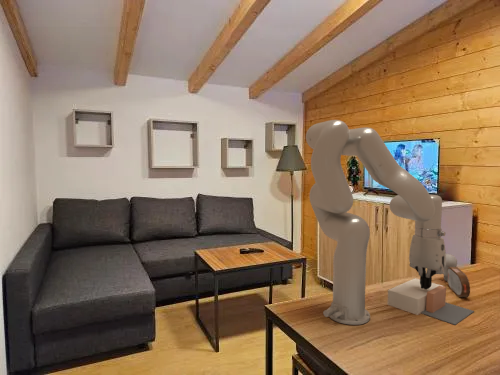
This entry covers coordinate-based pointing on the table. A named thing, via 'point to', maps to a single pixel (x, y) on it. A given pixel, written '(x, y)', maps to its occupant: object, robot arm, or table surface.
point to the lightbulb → (449, 264)
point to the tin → (458, 282)
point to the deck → (409, 296)
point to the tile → (436, 299)
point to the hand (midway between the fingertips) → (425, 287)
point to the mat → (449, 313)
